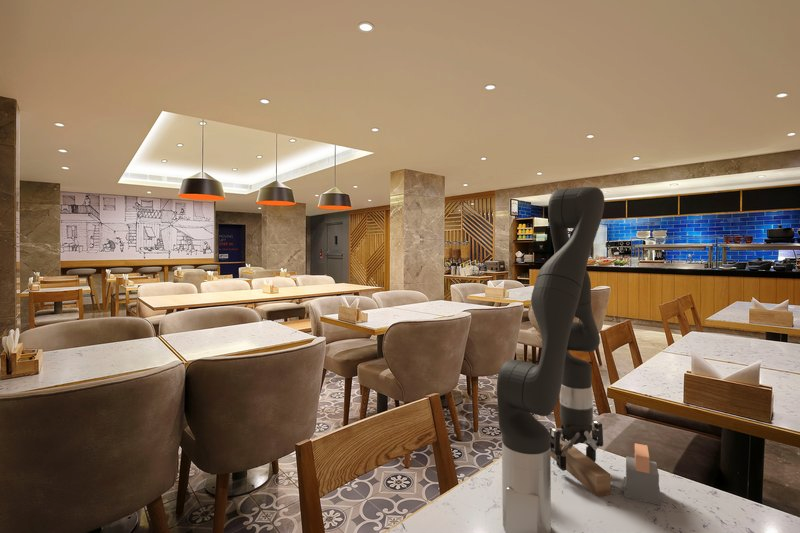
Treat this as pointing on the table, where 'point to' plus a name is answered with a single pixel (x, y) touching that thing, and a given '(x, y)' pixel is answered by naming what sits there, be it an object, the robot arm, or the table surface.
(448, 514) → the table surface
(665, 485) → the table surface
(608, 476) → the brown wooden beam
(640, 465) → the balance stand
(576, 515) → the table surface
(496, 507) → the table surface
